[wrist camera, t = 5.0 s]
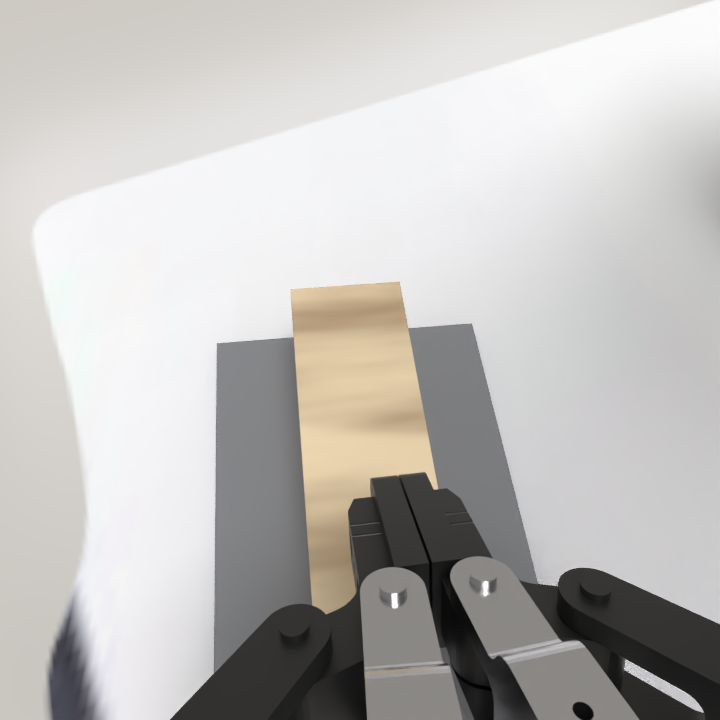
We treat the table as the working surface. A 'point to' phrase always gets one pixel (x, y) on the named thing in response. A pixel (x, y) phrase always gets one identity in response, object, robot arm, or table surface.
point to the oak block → (352, 416)
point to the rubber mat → (286, 483)
